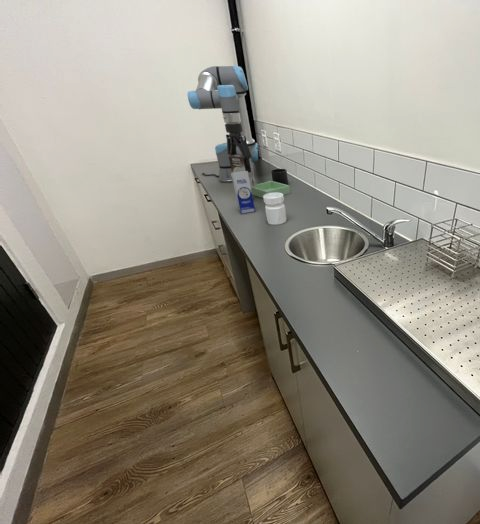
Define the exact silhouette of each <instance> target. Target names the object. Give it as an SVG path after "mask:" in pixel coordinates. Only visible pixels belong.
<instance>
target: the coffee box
mask: <svg viewBox="0 0 480 524" xmlns="http://www.w3.org/2000/svg"><path fill="white" fill-rule="evenodd" d="M243 158H244V157H243V155H242V154H234V155H231V156H229V161H230V165H231V170H232V173H235V170H242V172H243V171H245V166H244V161H243ZM249 161H250V167H251V172H249V173H248V176H249V181H250V186H251V188H253V187H256V185H257V183H256V179H255V174H254V168H253V162H252V161H251V158H249Z"/></svg>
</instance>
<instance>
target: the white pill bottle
mask: <svg viewBox="0 0 480 524" xmlns="http://www.w3.org/2000/svg"><path fill="white" fill-rule="evenodd" d="M284 197H285V195H283V194H282V193H268V194H265V195H264V196H263V198H262V199H263V203H264V204H265V206H264V209H265V216H266V220H267V224H269V225H272V226H277V225H283V224H284V223H286V222H287V212H286V205H285V204H284V202H285V200H284V199H285V198H284Z"/></svg>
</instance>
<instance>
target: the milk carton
mask: <svg viewBox="0 0 480 524" xmlns="http://www.w3.org/2000/svg"><path fill="white" fill-rule="evenodd" d="M231 176H232V180H233V182H232V185H233V188H234V193H235V199H236V203H237V206H238V211H239V212H240V215H245V214H251V213H256V207H255V202H254V198H253V195H252V192H251V186H250V181H249V176H248V171H243V172H242V170H235V173H231Z"/></svg>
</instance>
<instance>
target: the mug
mask: <svg viewBox="0 0 480 524" xmlns="http://www.w3.org/2000/svg"><path fill="white" fill-rule="evenodd" d="M270 173H271V181H274V182H277V183H281V184H285V185H289V179H288V171H287V169H286V168H275V169H272V170H270Z"/></svg>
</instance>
